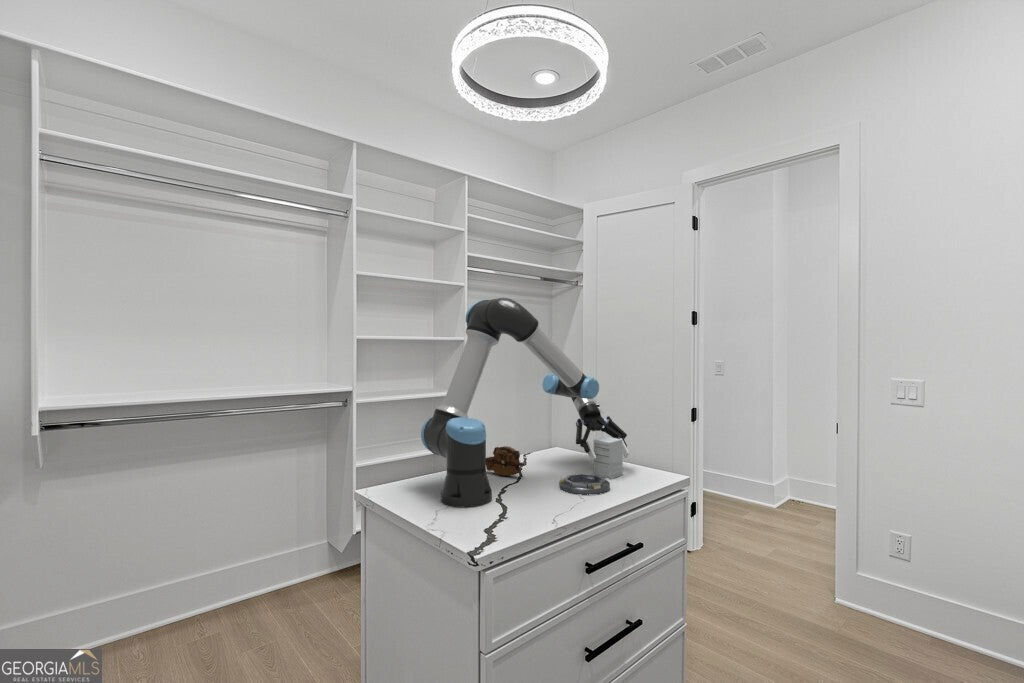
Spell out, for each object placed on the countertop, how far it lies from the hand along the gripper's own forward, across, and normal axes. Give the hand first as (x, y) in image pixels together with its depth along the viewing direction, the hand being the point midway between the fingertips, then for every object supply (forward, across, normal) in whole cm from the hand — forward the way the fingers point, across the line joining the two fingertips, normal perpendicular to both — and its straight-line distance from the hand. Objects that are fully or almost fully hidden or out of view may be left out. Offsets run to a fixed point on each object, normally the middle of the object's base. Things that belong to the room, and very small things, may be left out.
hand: (610, 457), depth 173 cm
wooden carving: (-7, +33, -16) cm, 38 cm away
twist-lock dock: (+10, +15, +1) cm, 18 cm away
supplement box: (+4, 0, -6) cm, 7 cm away
